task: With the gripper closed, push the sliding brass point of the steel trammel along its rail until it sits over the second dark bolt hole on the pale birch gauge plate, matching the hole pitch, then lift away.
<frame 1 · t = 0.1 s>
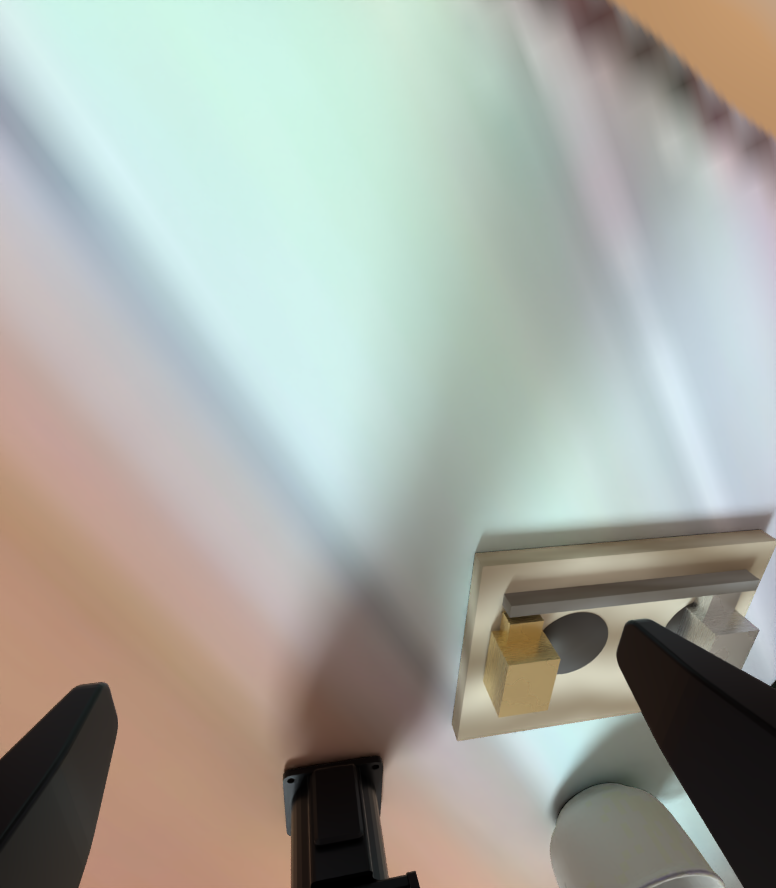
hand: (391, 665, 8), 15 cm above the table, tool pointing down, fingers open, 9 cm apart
grey rounded container: (603, 807, 40), on the table
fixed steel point: (696, 628, 31), resting on gauge plate
gauge plate: (600, 630, 31), on the table
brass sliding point: (521, 661, 27), point 3 cm above the table, slide at 4.0 cm
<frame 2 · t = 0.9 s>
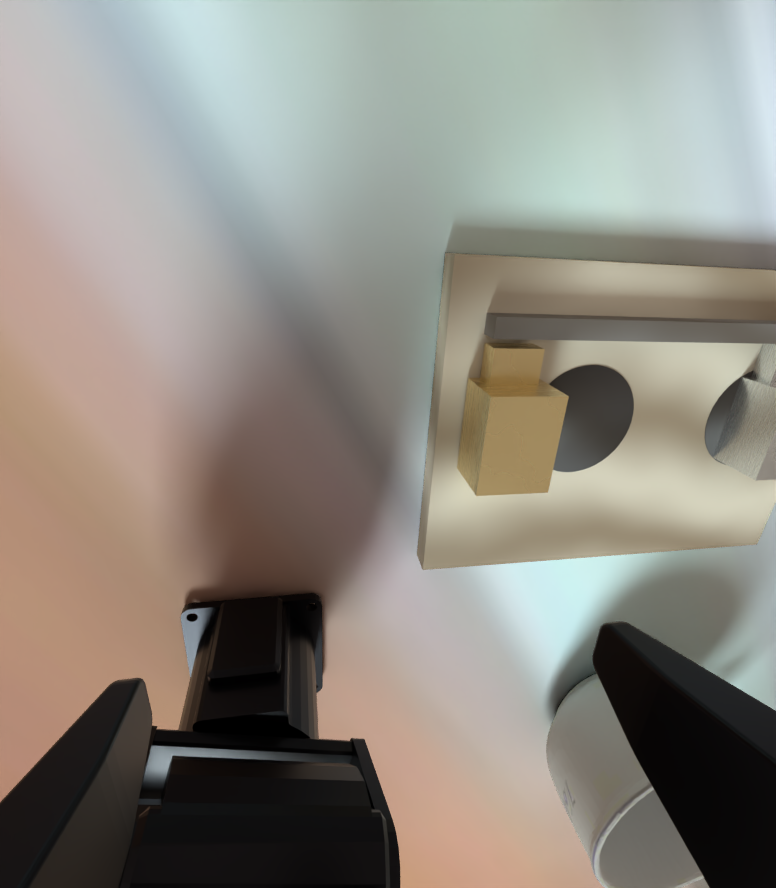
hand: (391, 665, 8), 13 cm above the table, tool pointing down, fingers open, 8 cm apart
grey rounded container: (613, 705, 32), on the table
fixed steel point: (752, 417, 22), resting on gauge plate
gauge plate: (621, 420, 23), on the table
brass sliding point: (510, 418, 18), point 3 cm above the table, slide at 4.0 cm
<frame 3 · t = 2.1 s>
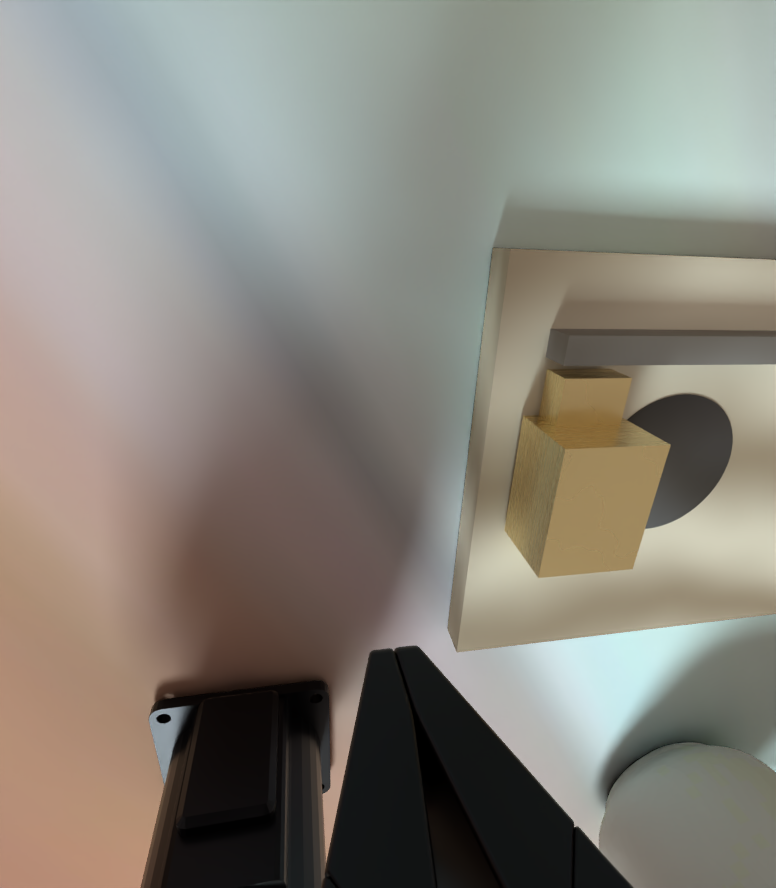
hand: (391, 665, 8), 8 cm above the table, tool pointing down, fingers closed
grey rounded container: (672, 780, 27), on the table
gauge plate: (707, 459, 18), on the table
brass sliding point: (582, 471, 14), point 3 cm above the table, slide at 4.0 cm
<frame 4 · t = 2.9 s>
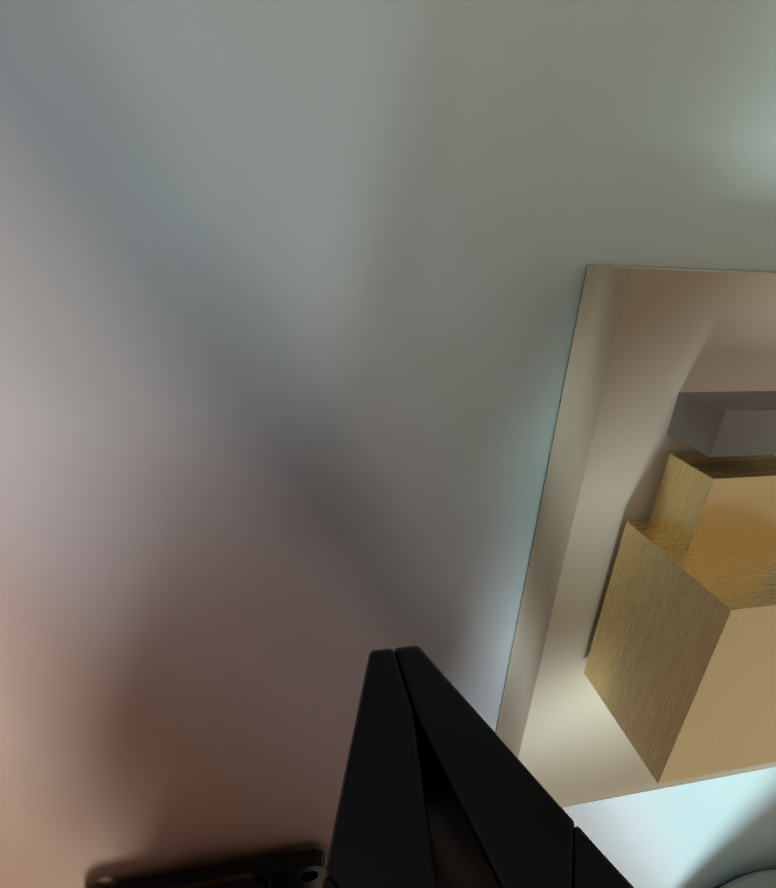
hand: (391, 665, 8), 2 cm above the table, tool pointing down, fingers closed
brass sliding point: (722, 610, 9), point 3 cm above the table, slide at 4.0 cm
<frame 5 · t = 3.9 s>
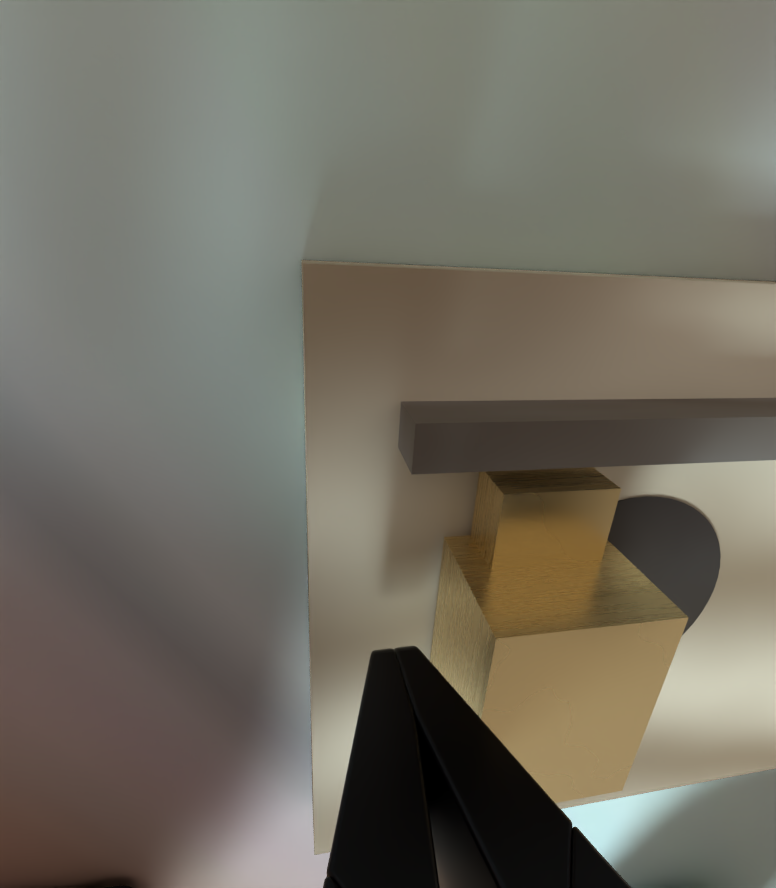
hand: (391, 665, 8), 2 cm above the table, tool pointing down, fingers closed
gauge plate: (685, 570, 12), on the table
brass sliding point: (539, 633, 8), point 3 cm above the table, slide at 2.6 cm, touching gripper
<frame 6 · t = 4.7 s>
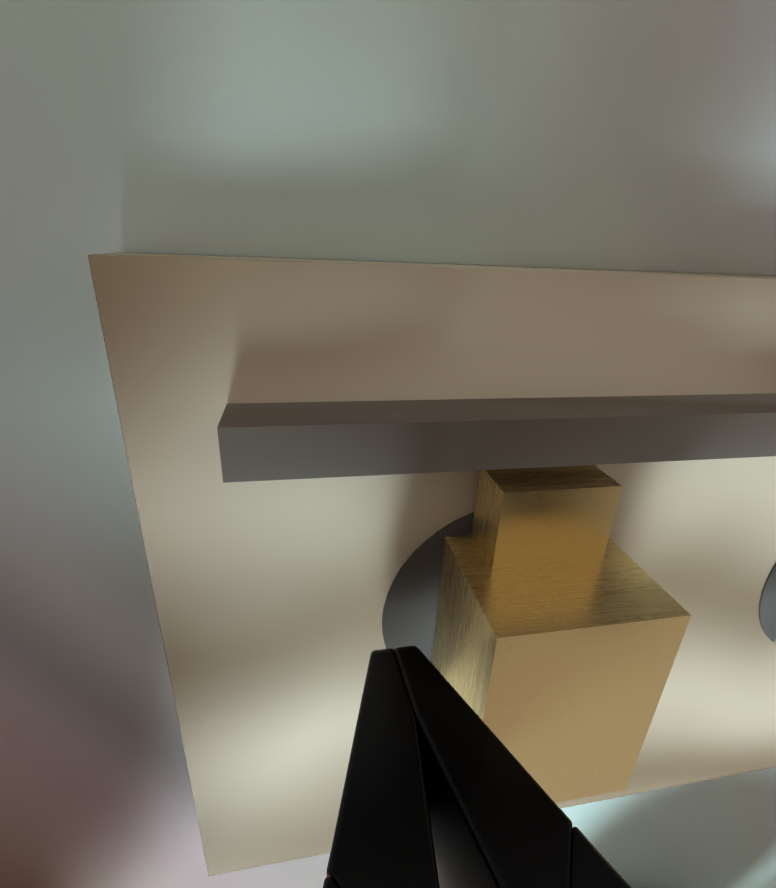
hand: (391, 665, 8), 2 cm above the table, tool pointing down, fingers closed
gauge plate: (594, 576, 12), on the table
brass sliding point: (541, 632, 8), point 3 cm above the table, slide at 0.0 cm, touching gripper
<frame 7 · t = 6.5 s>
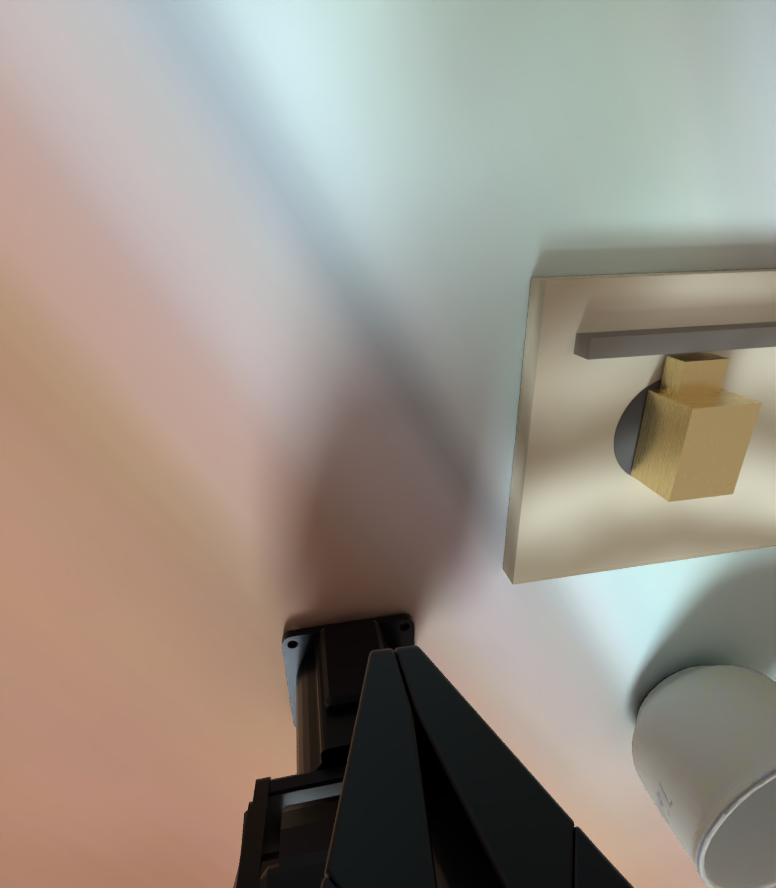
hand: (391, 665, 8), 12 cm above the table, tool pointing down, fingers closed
grey rounded container: (692, 702, 32), on the table
gauge plate: (701, 424, 23), on the table
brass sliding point: (694, 426, 19), point 3 cm above the table, slide at -0.1 cm
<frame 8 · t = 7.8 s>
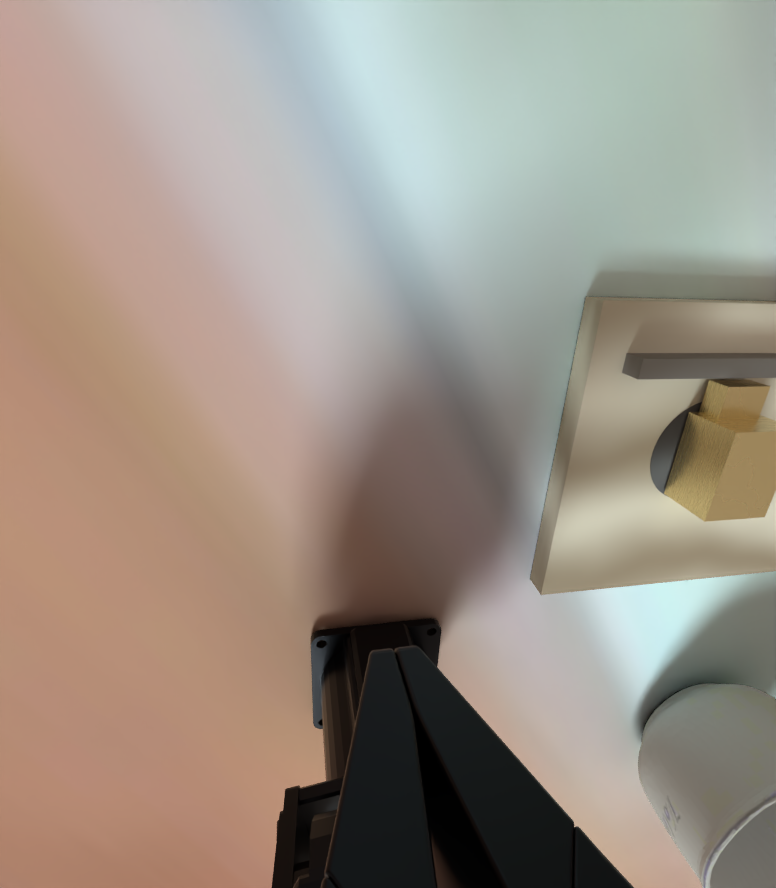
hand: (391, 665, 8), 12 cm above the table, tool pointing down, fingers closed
grey rounded container: (695, 719, 33), on the table
gauge plate: (730, 448, 23), on the table
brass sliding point: (732, 449, 20), point 3 cm above the table, slide at -0.1 cm
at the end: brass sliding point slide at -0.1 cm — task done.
